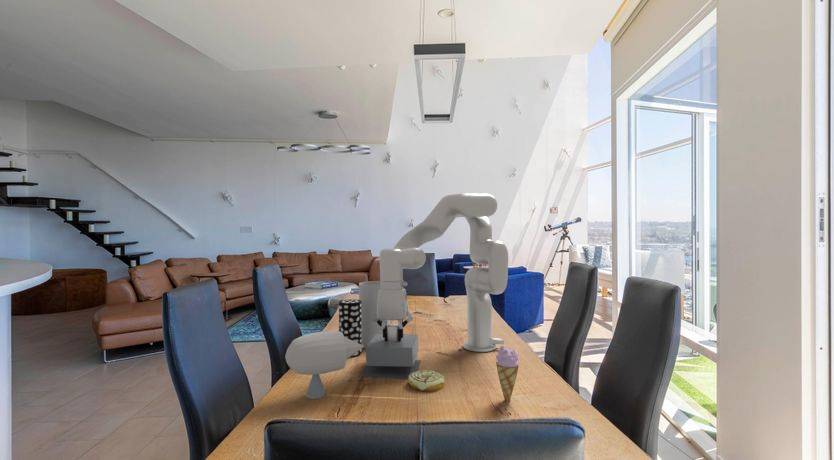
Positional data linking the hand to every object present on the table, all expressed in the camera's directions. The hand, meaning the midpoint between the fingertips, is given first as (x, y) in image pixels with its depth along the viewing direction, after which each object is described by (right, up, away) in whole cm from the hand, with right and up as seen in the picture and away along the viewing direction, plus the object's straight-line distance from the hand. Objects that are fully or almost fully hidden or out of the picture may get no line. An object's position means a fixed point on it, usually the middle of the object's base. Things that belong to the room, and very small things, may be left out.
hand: (393, 339), depth 134 cm
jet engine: (-18, -10, -20) cm, 29 cm away
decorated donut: (+11, -10, -15) cm, 21 cm away
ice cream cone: (+33, -10, -25) cm, 42 cm away
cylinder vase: (-9, -10, +28) cm, 31 cm away
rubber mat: (-1, -10, 0) cm, 10 cm away
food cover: (0, -6, 0) cm, 6 cm away
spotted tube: (-17, -10, +15) cm, 24 cm away
